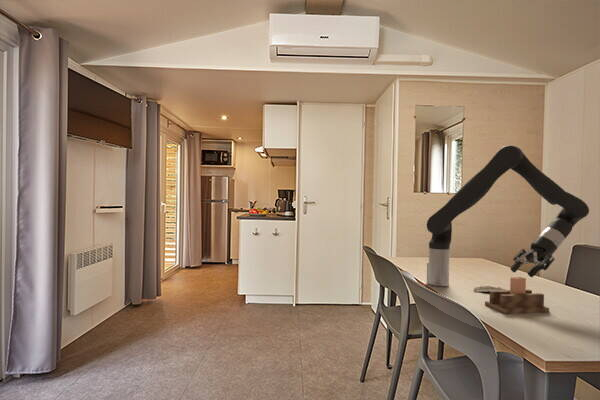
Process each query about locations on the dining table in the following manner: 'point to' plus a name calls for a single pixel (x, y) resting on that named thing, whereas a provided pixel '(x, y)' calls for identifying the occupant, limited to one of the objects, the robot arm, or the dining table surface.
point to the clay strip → (517, 285)
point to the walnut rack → (516, 302)
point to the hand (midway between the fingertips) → (520, 273)
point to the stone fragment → (487, 289)
